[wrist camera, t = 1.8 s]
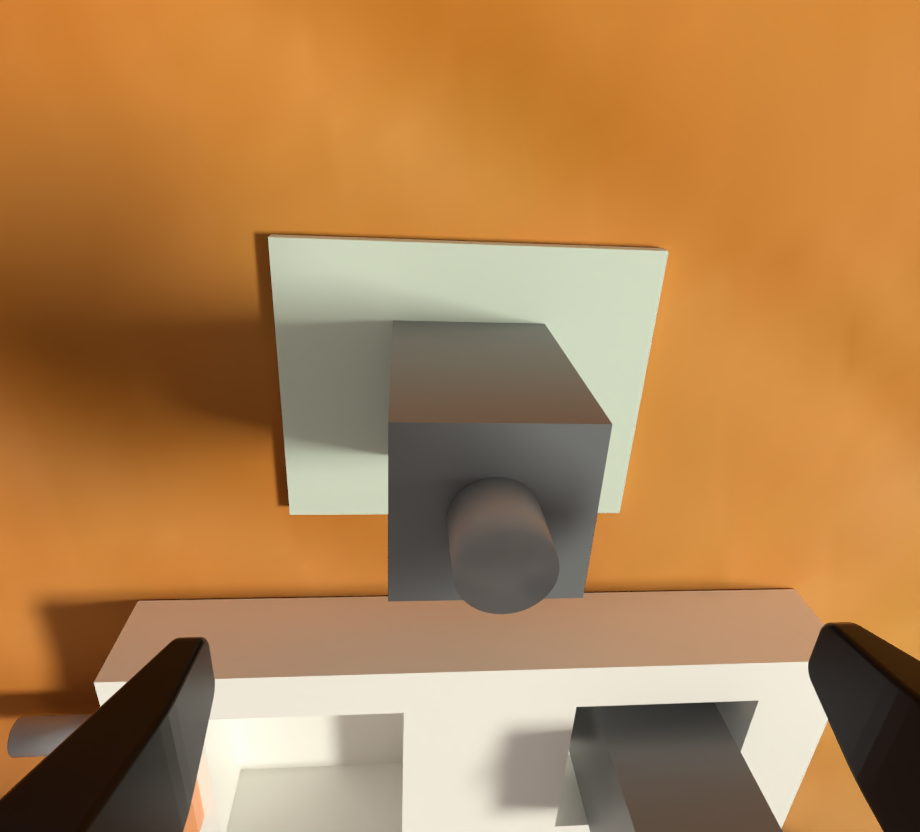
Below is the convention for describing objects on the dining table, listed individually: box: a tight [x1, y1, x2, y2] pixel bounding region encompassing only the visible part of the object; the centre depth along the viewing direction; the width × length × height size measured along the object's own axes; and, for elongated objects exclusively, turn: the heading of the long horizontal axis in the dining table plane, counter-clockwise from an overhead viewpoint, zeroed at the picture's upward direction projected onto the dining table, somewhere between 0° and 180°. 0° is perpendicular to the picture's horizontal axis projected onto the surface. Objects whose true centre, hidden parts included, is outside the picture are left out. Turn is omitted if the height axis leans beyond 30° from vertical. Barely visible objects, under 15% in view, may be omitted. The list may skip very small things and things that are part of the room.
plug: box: [388, 320, 612, 614], centre depth 14 cm, size 4×4×8 cm
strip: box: [7, 589, 828, 832], centre depth 21 cm, size 26×9×4 cm, turn 87°
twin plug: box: [569, 702, 783, 832], centre depth 20 cm, size 4×4×8 cm
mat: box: [268, 234, 668, 515], centre depth 18 cm, size 10×8×1 cm
